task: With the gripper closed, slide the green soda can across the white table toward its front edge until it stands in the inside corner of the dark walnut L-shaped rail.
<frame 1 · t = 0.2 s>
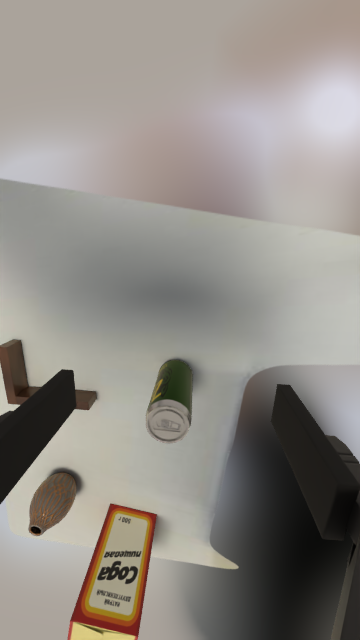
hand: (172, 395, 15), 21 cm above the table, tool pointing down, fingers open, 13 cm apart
vase: (65, 479, 46), on the table
baking soda box: (131, 519, 48), on the table
green soda can: (176, 372, 38), on the table
corner: (4, 361, 40), on the table
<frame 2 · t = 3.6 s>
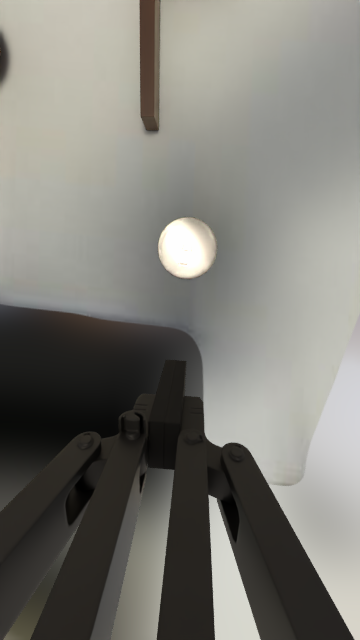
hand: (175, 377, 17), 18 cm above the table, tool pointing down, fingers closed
green soda can: (190, 249, 32), on the table
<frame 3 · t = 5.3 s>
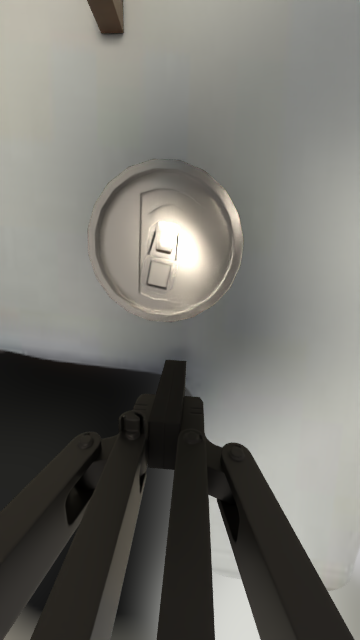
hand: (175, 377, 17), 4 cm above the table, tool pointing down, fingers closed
green soda can: (183, 250, 19), on the table
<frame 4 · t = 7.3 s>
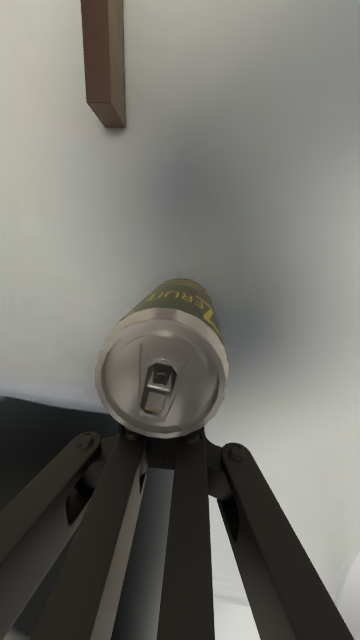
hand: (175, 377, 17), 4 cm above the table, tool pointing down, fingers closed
green soda can: (180, 308, 20), on the table, touching gripper
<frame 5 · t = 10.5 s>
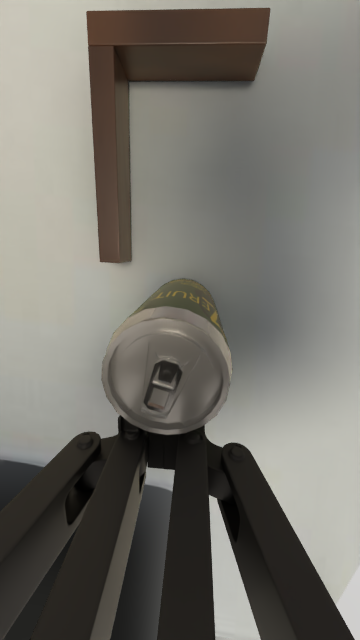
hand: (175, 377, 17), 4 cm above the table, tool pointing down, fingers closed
green soda can: (183, 308, 21), on the table, touching gripper
corner: (197, 12, 15), on the table
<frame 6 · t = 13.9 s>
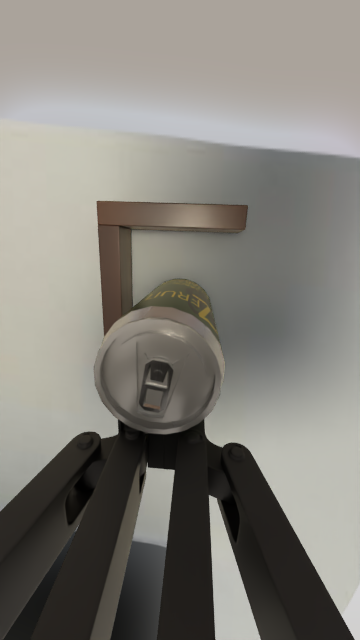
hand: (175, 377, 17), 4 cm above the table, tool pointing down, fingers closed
green soda can: (180, 308, 21), on the table, touching gripper
corner: (189, 181, 18), on the table
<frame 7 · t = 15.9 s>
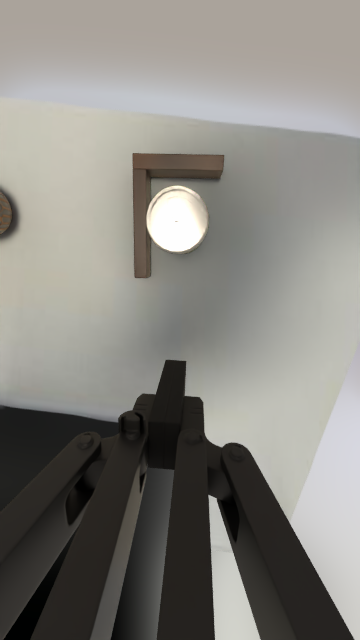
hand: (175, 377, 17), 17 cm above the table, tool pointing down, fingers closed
green soda can: (182, 232, 31), on the table
corner: (188, 144, 28), on the table
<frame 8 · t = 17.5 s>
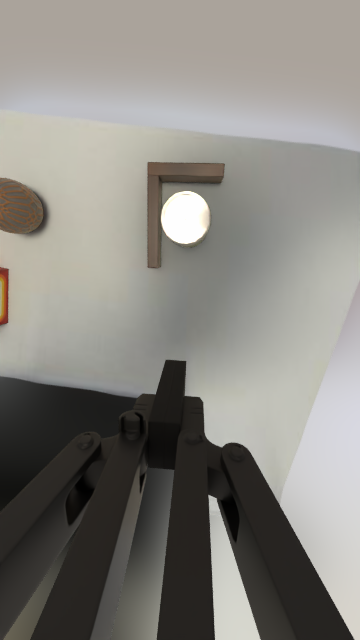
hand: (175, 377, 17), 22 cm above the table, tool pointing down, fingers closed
vase: (30, 211, 37), on the table
green soda can: (189, 229, 36), on the table
corner: (194, 154, 33), on the table
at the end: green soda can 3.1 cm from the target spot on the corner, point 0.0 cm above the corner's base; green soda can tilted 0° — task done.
